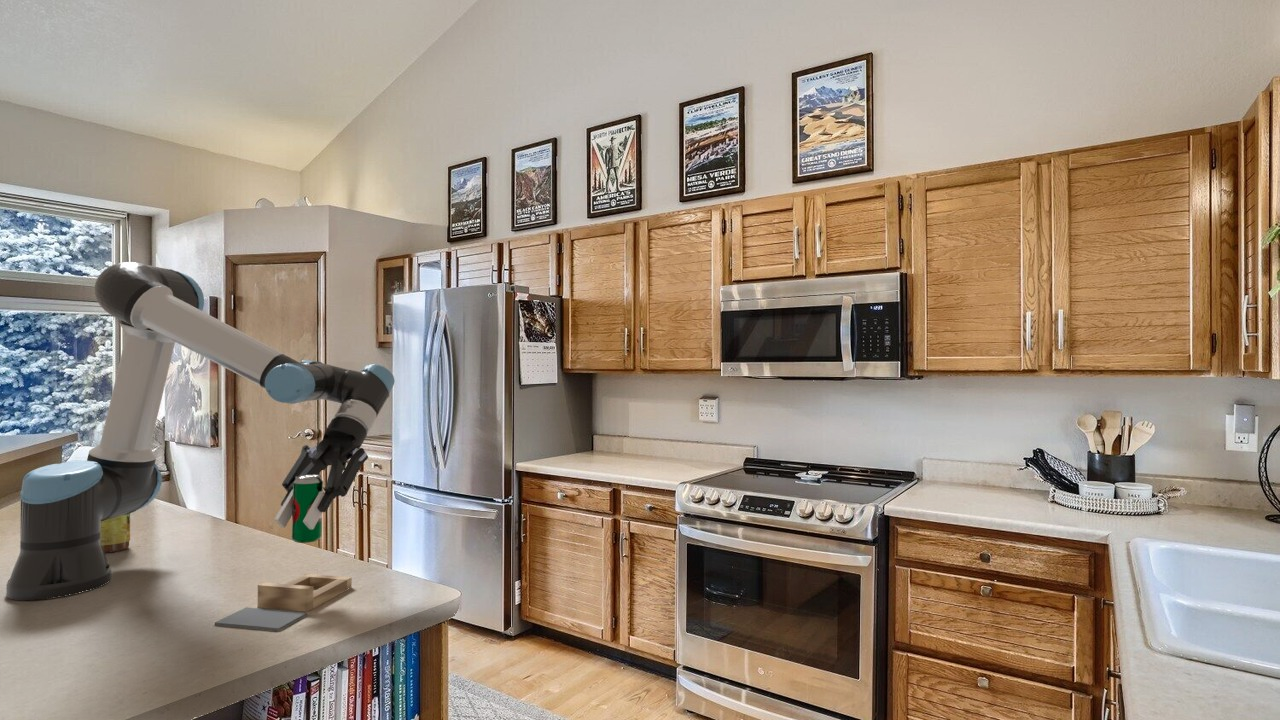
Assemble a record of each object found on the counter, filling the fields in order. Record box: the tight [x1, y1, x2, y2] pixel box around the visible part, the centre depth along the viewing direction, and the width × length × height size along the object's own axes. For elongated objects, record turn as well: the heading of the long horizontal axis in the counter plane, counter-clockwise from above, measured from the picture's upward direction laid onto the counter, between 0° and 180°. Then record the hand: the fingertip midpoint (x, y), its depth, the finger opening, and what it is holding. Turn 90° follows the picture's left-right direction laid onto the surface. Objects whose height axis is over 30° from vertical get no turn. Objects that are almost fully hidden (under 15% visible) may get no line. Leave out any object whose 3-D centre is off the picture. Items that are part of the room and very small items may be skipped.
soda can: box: [291, 474, 324, 544], centre depth 124 cm, size 5×5×12 cm
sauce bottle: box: [100, 513, 131, 554], centre depth 152 cm, size 7×6×20 cm
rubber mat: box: [214, 606, 308, 632], centre depth 112 cm, size 12×7×1 cm, turn 80°
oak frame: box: [256, 573, 353, 613], centre depth 124 cm, size 10×13×4 cm
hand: (293, 524), depth 120 cm, fingers closed on soda can, 5 cm apart
